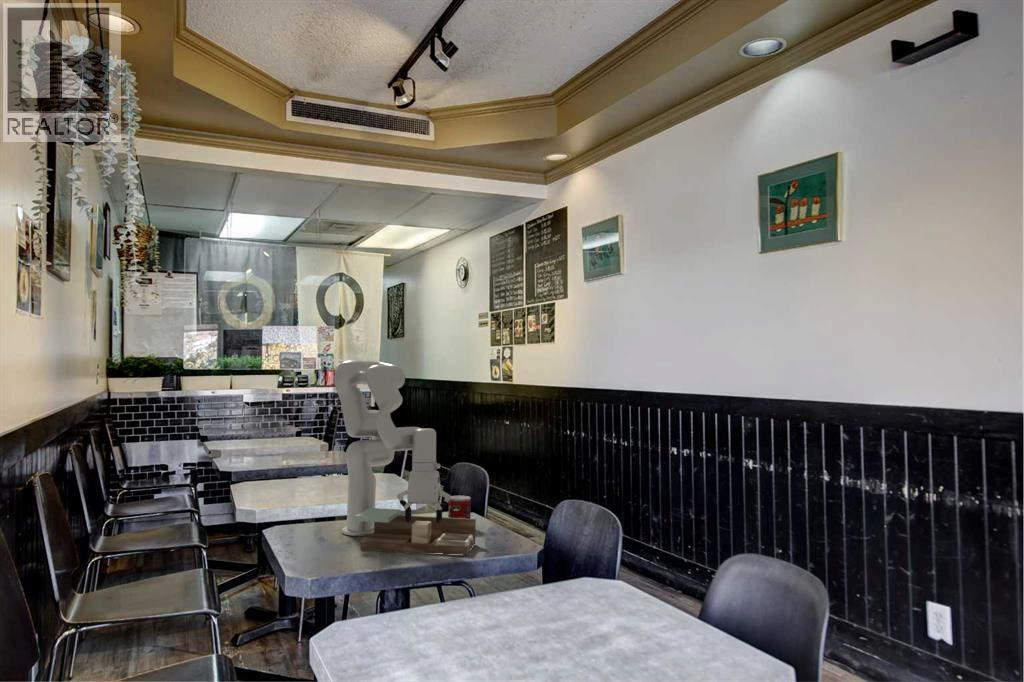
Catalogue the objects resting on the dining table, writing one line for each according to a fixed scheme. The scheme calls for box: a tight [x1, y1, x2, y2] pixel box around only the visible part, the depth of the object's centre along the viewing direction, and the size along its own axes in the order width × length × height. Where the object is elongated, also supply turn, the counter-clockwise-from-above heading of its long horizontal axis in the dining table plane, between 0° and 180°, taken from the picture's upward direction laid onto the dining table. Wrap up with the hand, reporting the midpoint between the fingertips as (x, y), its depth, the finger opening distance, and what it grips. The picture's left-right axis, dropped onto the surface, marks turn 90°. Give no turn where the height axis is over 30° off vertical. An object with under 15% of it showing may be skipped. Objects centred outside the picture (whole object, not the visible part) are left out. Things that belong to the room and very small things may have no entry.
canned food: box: [447, 495, 472, 519], centre depth 238 cm, size 8×8×11 cm
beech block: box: [412, 521, 431, 544], centre depth 209 cm, size 5×5×8 cm
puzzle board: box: [359, 514, 477, 556], centre depth 210 cm, size 14×34×8 cm, turn 83°
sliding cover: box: [354, 507, 402, 523], centre depth 212 cm, size 13×11×2 cm
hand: (423, 521), depth 208 cm, fingers open, 9 cm apart
